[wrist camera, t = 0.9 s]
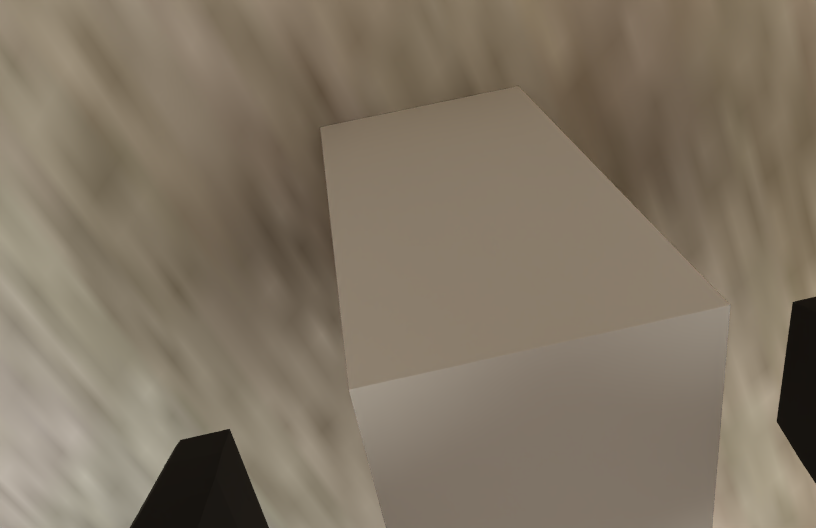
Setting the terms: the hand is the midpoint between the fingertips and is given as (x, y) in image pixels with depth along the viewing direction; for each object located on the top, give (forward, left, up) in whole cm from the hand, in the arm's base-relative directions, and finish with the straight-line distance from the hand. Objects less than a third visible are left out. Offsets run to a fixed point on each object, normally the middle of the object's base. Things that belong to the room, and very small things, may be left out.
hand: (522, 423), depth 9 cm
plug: (0, 0, -7) cm, 7 cm away
